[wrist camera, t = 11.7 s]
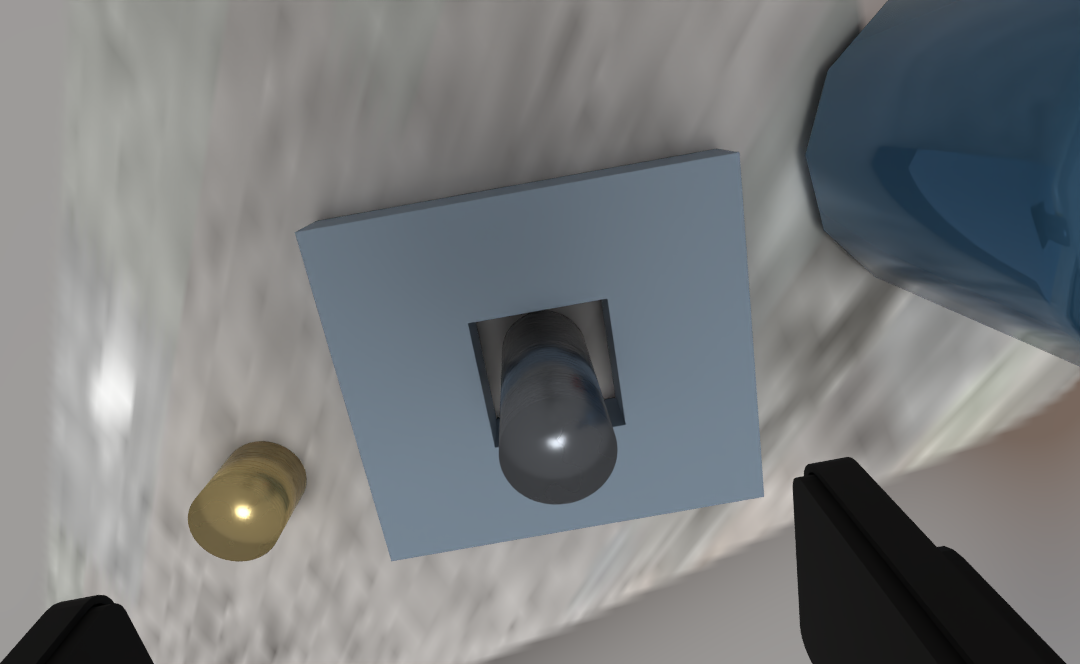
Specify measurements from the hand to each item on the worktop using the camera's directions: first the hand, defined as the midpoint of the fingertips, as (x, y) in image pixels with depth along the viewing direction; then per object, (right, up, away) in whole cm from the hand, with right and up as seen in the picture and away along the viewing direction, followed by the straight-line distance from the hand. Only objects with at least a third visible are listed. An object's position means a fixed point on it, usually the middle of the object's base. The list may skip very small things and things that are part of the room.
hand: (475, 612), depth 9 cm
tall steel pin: (+1, +3, +22) cm, 22 cm away
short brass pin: (-13, -3, +24) cm, 27 cm away
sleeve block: (+1, +3, +22) cm, 22 cm away
